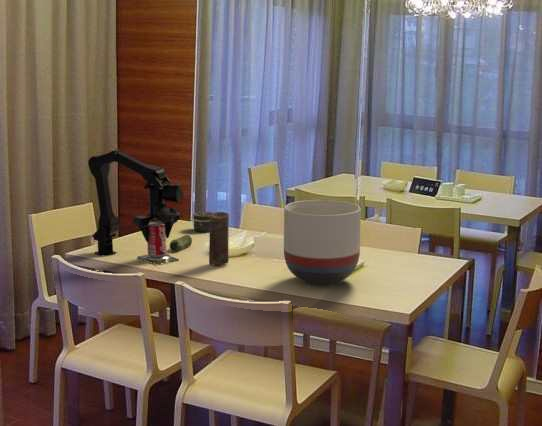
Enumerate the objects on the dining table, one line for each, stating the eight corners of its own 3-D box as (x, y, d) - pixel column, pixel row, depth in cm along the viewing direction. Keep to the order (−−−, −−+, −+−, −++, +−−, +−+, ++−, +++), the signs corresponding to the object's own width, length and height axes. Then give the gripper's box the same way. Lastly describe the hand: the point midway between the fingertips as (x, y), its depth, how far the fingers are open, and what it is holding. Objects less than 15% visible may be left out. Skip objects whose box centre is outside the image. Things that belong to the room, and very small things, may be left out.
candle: (232, 263, 316) (232, 212, 312) (223, 268, 309) (222, 216, 305) (214, 261, 319) (214, 210, 315) (205, 266, 313) (204, 214, 308)
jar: (190, 232, 366) (190, 215, 364) (196, 227, 375) (196, 211, 374) (212, 233, 364) (212, 216, 362) (218, 228, 373) (217, 211, 372)
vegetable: (178, 253, 331) (178, 241, 330) (167, 252, 333) (167, 240, 332) (195, 245, 344) (195, 234, 343) (184, 244, 346) (184, 232, 345)
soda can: (163, 258, 318) (162, 225, 315) (145, 257, 319) (144, 224, 316) (168, 253, 325) (167, 221, 322) (151, 253, 326) (150, 220, 323)
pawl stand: (137, 257, 324) (137, 254, 323) (158, 253, 330) (158, 250, 330) (157, 265, 314) (157, 261, 313) (178, 260, 320) (178, 257, 320)
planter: (371, 289, 284) (373, 212, 279) (297, 296, 277) (297, 217, 271) (342, 268, 310) (344, 198, 304) (274, 274, 302) (274, 202, 296)
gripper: (147, 206, 305) (148, 247, 308) (188, 200, 317) (189, 239, 320) (131, 202, 313) (132, 242, 316) (171, 196, 325) (172, 234, 329)
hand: (157, 239), depth 320 cm, fingers open, 9 cm apart
